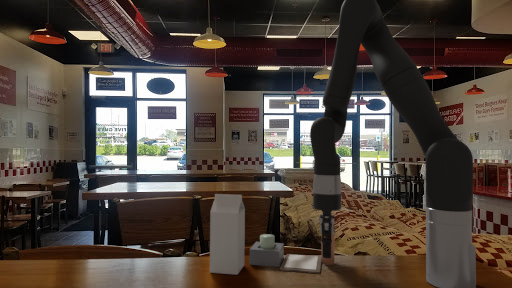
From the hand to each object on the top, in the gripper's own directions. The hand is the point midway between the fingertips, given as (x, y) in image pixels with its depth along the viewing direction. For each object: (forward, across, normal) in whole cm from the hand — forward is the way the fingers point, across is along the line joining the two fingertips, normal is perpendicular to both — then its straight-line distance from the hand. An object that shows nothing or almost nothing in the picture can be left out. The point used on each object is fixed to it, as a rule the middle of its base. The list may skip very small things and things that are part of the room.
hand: (326, 255), depth 93 cm
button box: (+2, -2, +16) cm, 16 cm away
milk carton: (+2, -11, +24) cm, 27 cm away
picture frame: (+2, -2, +6) cm, 7 cm away
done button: (0, -2, +16) cm, 16 cm away
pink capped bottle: (+2, 0, 0) cm, 2 cm away
